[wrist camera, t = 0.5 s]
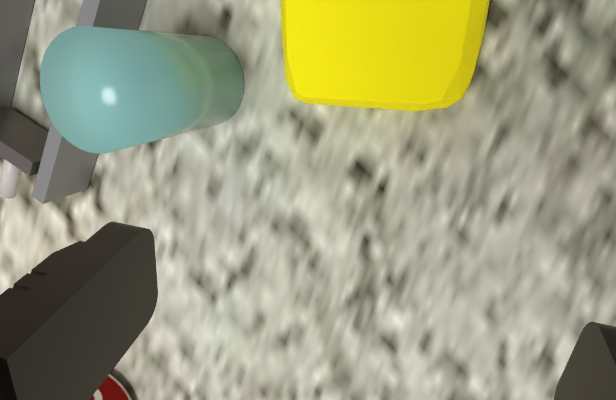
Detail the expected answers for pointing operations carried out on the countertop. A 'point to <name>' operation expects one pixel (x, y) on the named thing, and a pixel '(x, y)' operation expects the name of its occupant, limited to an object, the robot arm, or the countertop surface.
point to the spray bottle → (381, 51)
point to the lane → (58, 151)
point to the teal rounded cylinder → (136, 85)
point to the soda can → (111, 390)
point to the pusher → (18, 149)
